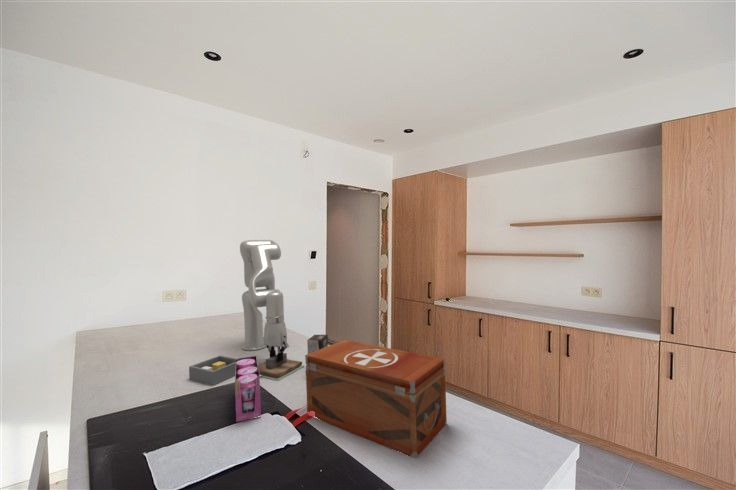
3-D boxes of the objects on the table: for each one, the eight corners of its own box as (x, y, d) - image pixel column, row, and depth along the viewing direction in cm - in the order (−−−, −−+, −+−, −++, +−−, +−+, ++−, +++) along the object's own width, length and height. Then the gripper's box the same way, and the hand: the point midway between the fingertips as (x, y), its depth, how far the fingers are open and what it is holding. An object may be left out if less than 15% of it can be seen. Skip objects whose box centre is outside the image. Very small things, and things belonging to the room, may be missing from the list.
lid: (275, 360, 161) (275, 348, 161) (302, 365, 154) (301, 353, 154) (250, 372, 147) (249, 359, 147) (277, 378, 140) (277, 364, 140)
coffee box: (322, 379, 140) (321, 340, 139) (307, 378, 141) (306, 339, 141) (329, 370, 148) (328, 334, 148) (315, 370, 150) (314, 333, 150)
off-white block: (206, 375, 145) (205, 366, 145) (212, 376, 143) (212, 367, 143) (197, 378, 141) (197, 369, 141) (204, 380, 139) (203, 370, 139)
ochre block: (219, 370, 150) (219, 361, 150) (226, 371, 148) (225, 362, 148) (212, 373, 147) (211, 364, 147) (218, 374, 145) (217, 365, 145)
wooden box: (346, 392, 127) (344, 339, 127) (448, 423, 103) (446, 358, 103) (306, 415, 111) (304, 355, 111) (416, 460, 87) (414, 382, 86)
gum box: (261, 419, 109) (260, 377, 109) (235, 425, 106) (234, 382, 106) (258, 390, 131) (256, 355, 131) (236, 393, 128) (235, 358, 128)
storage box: (220, 369, 154) (219, 355, 154) (243, 374, 147) (243, 359, 147) (189, 382, 141) (189, 366, 141) (213, 388, 134) (213, 372, 134)
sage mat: (276, 361, 162) (276, 360, 162) (304, 366, 154) (304, 365, 154) (248, 374, 147) (248, 373, 147) (278, 380, 139) (278, 379, 139)
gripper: (255, 320, 151) (256, 360, 151) (283, 323, 143) (285, 366, 143) (267, 316, 157) (268, 355, 158) (295, 319, 150) (296, 360, 150)
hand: (276, 360), depth 150 cm, fingers open, 3 cm apart
